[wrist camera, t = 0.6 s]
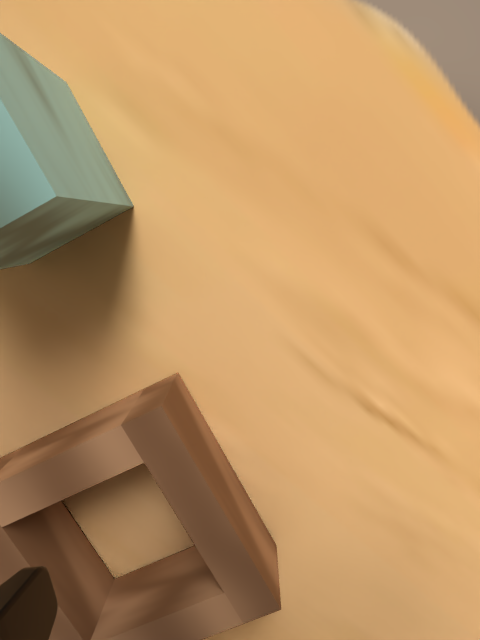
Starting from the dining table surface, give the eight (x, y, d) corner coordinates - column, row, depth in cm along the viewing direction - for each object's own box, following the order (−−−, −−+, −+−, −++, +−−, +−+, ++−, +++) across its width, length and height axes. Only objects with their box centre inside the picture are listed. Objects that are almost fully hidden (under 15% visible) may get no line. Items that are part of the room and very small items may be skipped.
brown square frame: (103, 615, 25) (75, 687, 21) (-6, 460, 23) (-59, 509, 19) (276, 545, 24) (281, 609, 20) (178, 372, 21) (161, 406, 18)
